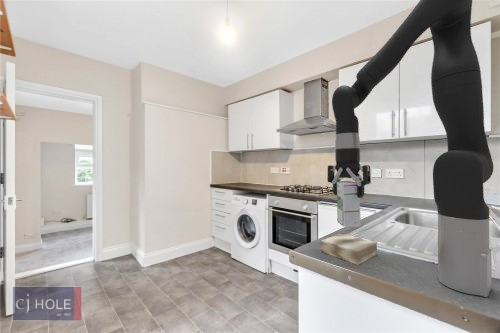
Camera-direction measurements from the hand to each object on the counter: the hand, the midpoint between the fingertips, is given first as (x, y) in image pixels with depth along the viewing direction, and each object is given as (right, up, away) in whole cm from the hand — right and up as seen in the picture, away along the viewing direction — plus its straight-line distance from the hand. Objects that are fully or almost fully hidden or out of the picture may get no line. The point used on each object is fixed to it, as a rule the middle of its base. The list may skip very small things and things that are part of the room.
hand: (347, 196), depth 76 cm
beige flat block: (0, -19, 0) cm, 19 cm away
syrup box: (0, -10, 0) cm, 10 cm away
